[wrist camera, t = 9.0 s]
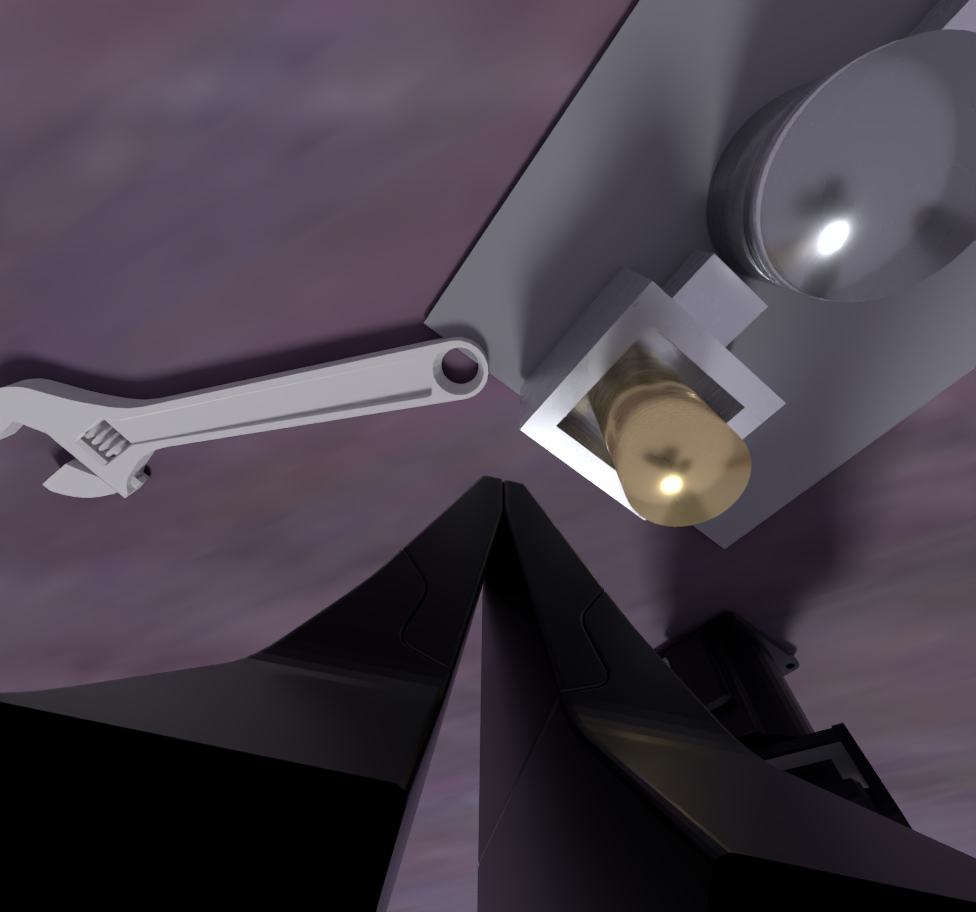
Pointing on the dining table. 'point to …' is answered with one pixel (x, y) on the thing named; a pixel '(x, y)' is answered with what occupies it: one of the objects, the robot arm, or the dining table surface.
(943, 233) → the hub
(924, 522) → the dining table surface
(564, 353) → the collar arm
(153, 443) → the adjustable wrench
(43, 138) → the dining table surface
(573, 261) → the mat
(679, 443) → the brass rounded cylinder
